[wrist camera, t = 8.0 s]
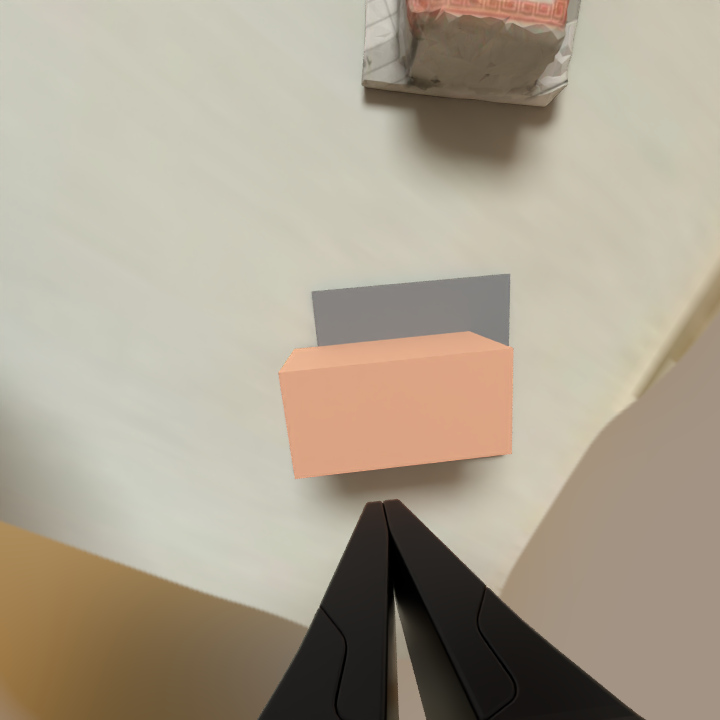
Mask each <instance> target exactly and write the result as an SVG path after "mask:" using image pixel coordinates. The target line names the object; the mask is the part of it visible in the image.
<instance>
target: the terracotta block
mask: <svg viewBox="0 0 720 720" xmlns="http://www.w3.org/2000/svg"><path fill="white" fill-rule="evenodd" d="M279 380H280V386H281V392H282V399H283V405H284V412H285V418H286V424H287V431H288V437H289V443H290V450H291V456H292V463H293V469H294V475H295V479H298V478H307V477H316V476H324V475H333V474H342V473H350V472H359V471H367V470H376V469H385V468H393V467H402V466H410V465H419V464H428V463H436V462H445V461H454V460H462V459H471V458H479V457H488V456H497V455H505V454H512V398H513V348H512V347H509V346H506V345H504V344H501V343H499V342H496V341H493V340H491V339H488V338H486V337H483V336H481V335H478V334H475V333H473V332H470V331H465V332H456V333H446V334H436V335H426V336H417V337H407V338H397V339H387V340H378V341H368V342H358V343H348V344H338V345H329V346H319V347H309V348H299V349H294V350H293V352H292V353H291V355H290V356H289V358H288V359H287V361H286V362H285V364H284V365H283V367H282V368H281V370H280V371H279Z"/></svg>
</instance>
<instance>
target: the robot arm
mask: <svg viewBox="0 0 720 720" xmlns="http://www.w3.org/2000/svg"><path fill="white" fill-rule="evenodd" d="M394 595H395V600H396V605H397V609H398V613H399V617H400V621H401V624H402V628H403V632H404V636H405V640H406V643H407V647H408V651H409V655H410V659H411V663H412V666H413V670H414V674H415V677H416V682H417V685H418V689H419V693H420V697H421V701H422V704H423V708H424V712H425V716H426V720H645V719H644V718H642V717H641V716H639V715H638V714H637V713H635V712H634V711H633V710H632V709H630V708H629V707H628V706H626V705H625V704H624V703H623V702H621V701H620V700H619V699H618V698H616V697H615V696H614V695H613V694H612V693H610V692H609V691H608V690H607V689H605V688H604V687H603V686H602V685H601V684H599V683H598V682H597V681H596V680H594V679H593V678H592V677H591V676H590V675H588V674H587V673H586V672H585V671H583V670H582V669H581V668H580V667H578V666H577V665H576V664H575V663H574V662H572V661H571V660H570V659H569V658H567V657H566V656H565V655H564V654H562V653H561V652H560V651H559V650H558V649H556V648H555V647H554V646H553V645H551V644H550V643H549V642H548V641H547V640H546V639H544V638H543V637H542V636H541V635H540V634H538V633H537V632H536V631H535V630H534V629H533V628H531V627H530V626H529V625H528V624H527V623H525V622H524V621H523V620H522V619H521V618H520V617H519V616H518V615H517V614H516V613H515V612H513V610H511V609H510V608H509V607H508V606H507V605H506V604H505V603H504V602H503V601H502V600H501V599H500V598H499V597H498V596H497V595H496V594H495V593H494V592H493V591H492V590H491V589H490V588H487V587H486V585H485V584H484V583H483V582H482V581H481V580H480V579H479V578H478V577H477V576H476V575H475V574H474V573H473V572H472V571H471V570H470V569H469V568H468V567H467V566H466V565H465V564H464V563H463V562H462V561H461V560H460V559H459V558H458V557H457V556H456V555H455V554H454V553H453V552H452V551H451V550H450V549H449V548H448V547H447V546H446V545H445V544H444V543H443V542H442V541H441V540H440V539H438V538H437V537H436V536H435V535H434V534H433V533H432V532H431V531H430V530H429V529H428V528H427V527H426V526H425V525H424V524H423V523H422V522H421V521H420V520H419V519H418V518H417V517H416V516H415V515H414V514H413V513H412V512H411V511H410V510H409V509H408V508H407V507H406V506H405V505H404V504H403V503H402V502H401V501H400V500H398V499H393V500H385V501H384V502H383V503H382V502H381V501H376V502H368V503H367V504H366V505H365V507H364V509H363V512H362V514H361V516H360V518H359V520H358V523H357V525H356V527H355V529H354V531H353V534H352V536H351V538H350V540H349V542H348V544H347V547H346V549H345V551H344V553H343V555H342V558H341V560H340V562H339V564H338V566H337V569H336V571H335V573H334V575H333V577H332V580H331V582H330V584H329V586H328V588H327V590H326V593H325V595H324V597H323V599H322V601H321V604H320V608H319V609H318V610H317V612H316V614H315V616H314V619H313V621H312V623H311V625H310V627H309V629H308V631H307V633H306V635H305V637H304V639H303V641H302V643H301V645H300V647H299V649H298V651H297V653H296V655H295V657H294V658H293V660H292V662H291V663H290V665H289V667H288V669H287V671H286V672H285V674H284V676H283V678H282V679H281V681H280V683H279V684H278V686H277V688H276V689H275V691H274V693H273V694H272V696H271V698H270V699H269V701H268V703H267V704H266V706H265V708H264V709H263V711H262V713H261V714H260V716H259V718H258V719H257V720H399V714H398V683H397V653H396V624H395V602H394Z"/></svg>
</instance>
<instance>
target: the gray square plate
mask: <svg viewBox="0 0 720 720" xmlns="http://www.w3.org/2000/svg"><path fill="white" fill-rule="evenodd" d="M312 298H313V307H314V315H315V324H316V332H317V340H318V347H319V346H329V345H338V344H348V343H358V342H368V341H378V340H387V339H397V338H407V337H417V336H426V335H436V334H446V333H456V332H465V331H470V332H473V333H475V334H478V335H481V336H483V337H486V338H488V339H491V340H493V341H496V342H499V343H501V344H504V345H506V346H509V306H510V274H501V275H490V276H479V277H468V278H457V279H446V280H435V281H423V282H412V283H401V284H390V285H379V286H368V287H357V288H346V289H335V290H324V291H313V292H312Z"/></svg>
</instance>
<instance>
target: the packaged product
mask: <svg viewBox="0 0 720 720" xmlns="http://www.w3.org/2000/svg"><path fill="white" fill-rule="evenodd" d="M580 2H581V0H366V36H365V47H364V59H363V72H362V85H363V86H364V87H367V88H374V89H381V90H390V91H398V92H407V93H415V94H424V95H432V96H441V97H449V98H465V99H476V100H483V101H490V102H500V103H511V104H521V105H532V106H542V107H545V106H546V105H548V104H549V103H550V102H551V101H552V100H553V99H554V98H555V97H556V96H557V95H558V94H559V93H560V92H561V91H562V90H563V89H564V88H565V87H566V86H567V85H568V78H567V67H568V64H569V61H570V59H571V56H572V46H573V39H574V35H575V30H576V26H577V21H578V13H579V8H580Z"/></svg>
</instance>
